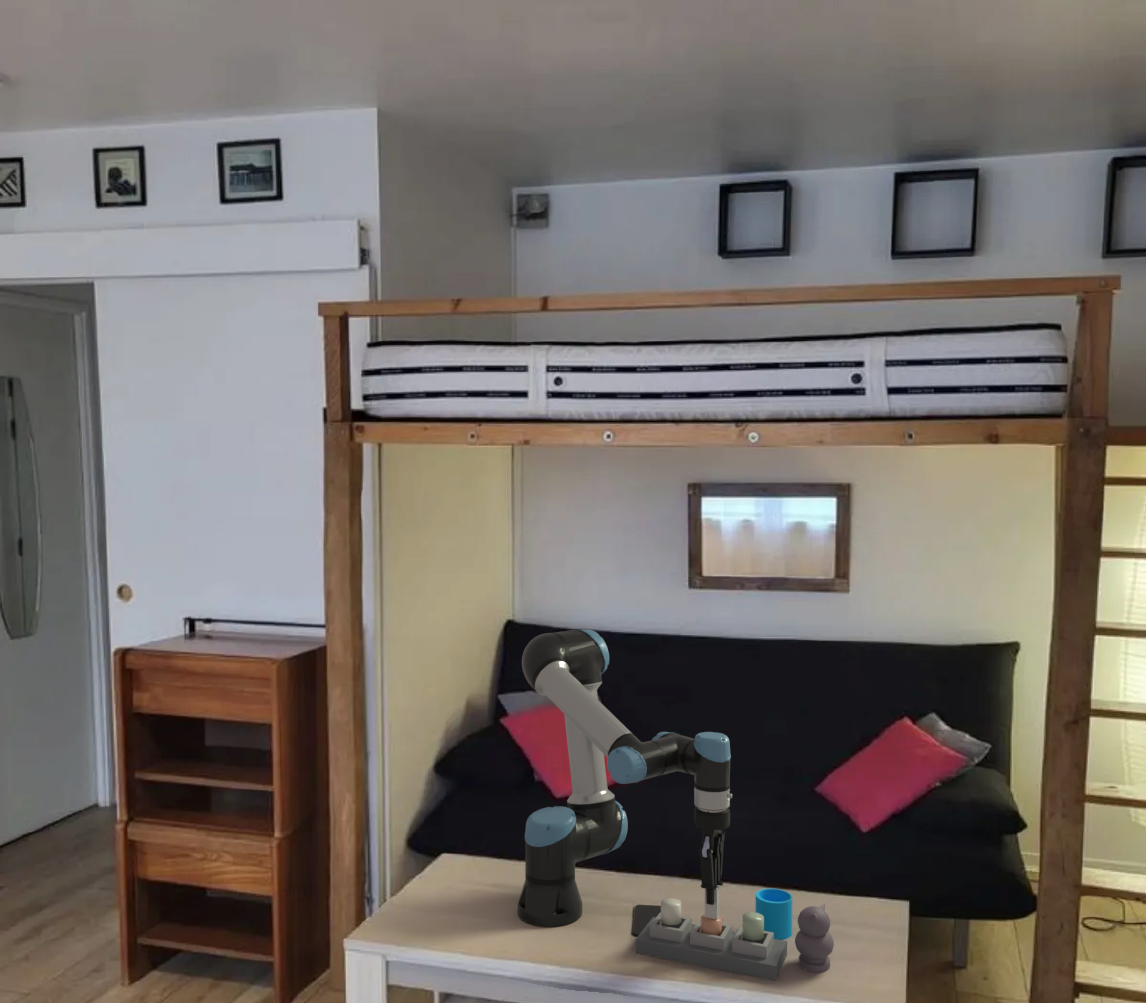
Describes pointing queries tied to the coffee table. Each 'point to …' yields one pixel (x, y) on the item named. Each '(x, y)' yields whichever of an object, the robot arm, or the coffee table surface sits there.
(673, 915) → the ivory button
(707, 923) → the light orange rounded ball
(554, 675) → the robot arm
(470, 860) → the coffee table surface
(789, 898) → the mug
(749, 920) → the sage button
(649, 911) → the smartphone
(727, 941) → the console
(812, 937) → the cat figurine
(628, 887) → the coffee table surface
